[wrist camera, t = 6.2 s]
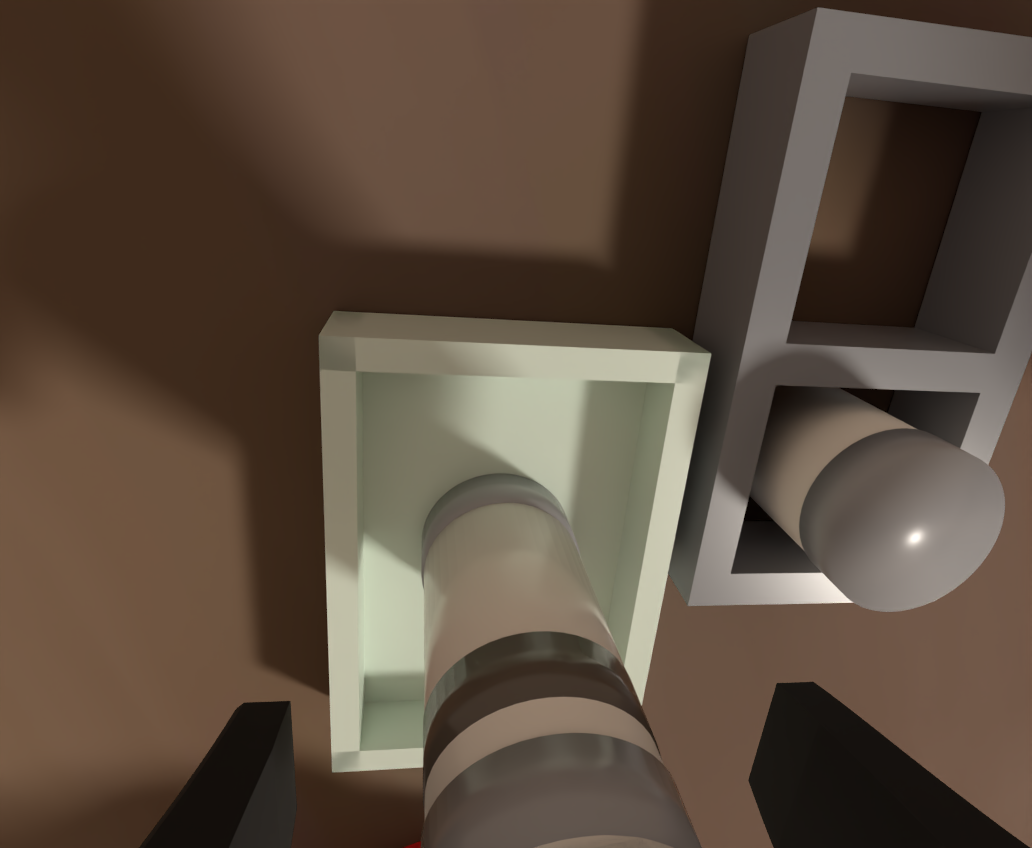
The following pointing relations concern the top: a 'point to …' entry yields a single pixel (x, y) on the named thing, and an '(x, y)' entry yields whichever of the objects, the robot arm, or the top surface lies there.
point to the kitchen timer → (414, 845)
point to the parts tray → (479, 451)
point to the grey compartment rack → (857, 334)
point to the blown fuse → (529, 688)
